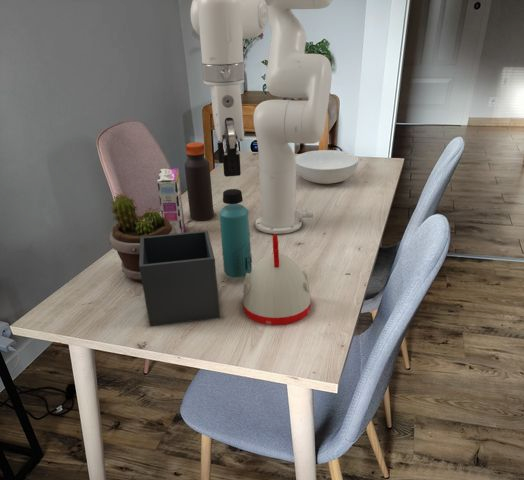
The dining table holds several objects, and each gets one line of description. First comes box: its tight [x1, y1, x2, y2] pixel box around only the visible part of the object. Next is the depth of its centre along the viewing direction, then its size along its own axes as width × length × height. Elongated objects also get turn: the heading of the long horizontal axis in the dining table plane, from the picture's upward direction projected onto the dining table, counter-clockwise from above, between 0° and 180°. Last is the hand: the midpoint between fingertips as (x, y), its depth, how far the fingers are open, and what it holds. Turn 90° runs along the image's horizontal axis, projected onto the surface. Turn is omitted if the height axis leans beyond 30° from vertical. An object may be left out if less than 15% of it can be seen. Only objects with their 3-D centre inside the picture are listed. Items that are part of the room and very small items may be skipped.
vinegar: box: [184, 141, 215, 222], centre depth 148 cm, size 7×7×20 cm
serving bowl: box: [295, 149, 359, 185], centre depth 175 cm, size 21×21×7 cm
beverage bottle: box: [218, 188, 253, 279], centre depth 116 cm, size 6×7×20 cm
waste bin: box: [139, 230, 221, 327], centre depth 109 cm, size 14×14×13 cm
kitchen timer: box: [242, 234, 312, 326], centre depth 106 cm, size 14×14×15 cm
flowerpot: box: [108, 189, 176, 284], centre depth 119 cm, size 14×15×20 cm
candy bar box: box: [156, 167, 186, 234], centre depth 138 cm, size 11×5×16 cm, turn 5°
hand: (229, 168), depth 107 cm, fingers open, 9 cm apart
